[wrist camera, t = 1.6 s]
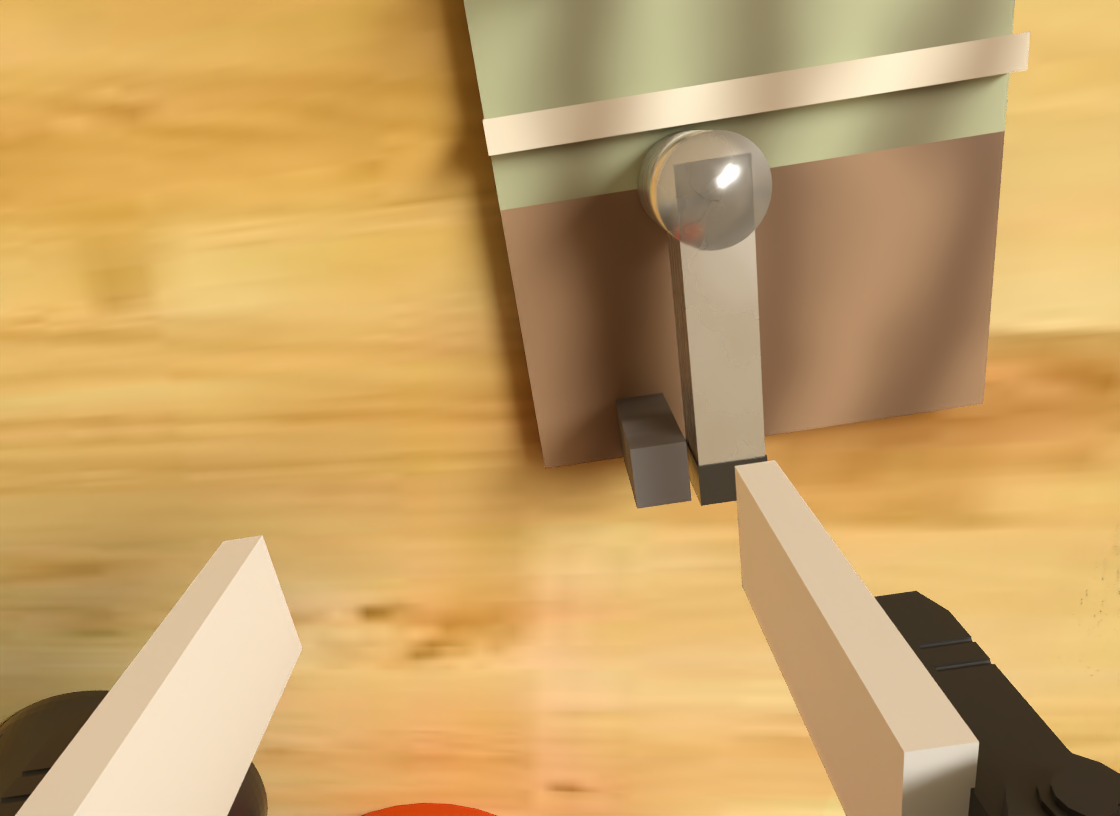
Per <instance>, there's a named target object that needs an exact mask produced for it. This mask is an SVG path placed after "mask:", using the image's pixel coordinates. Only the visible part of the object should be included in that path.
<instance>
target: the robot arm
mask: <svg viewBox="0 0 1120 816" xmlns="http://www.w3.org/2000/svg"><path fill="white" fill-rule="evenodd" d="M735 479H736V495H737V511H738V527H739V543H740V559H741V575H742V587H743V589H744V591H745V593H746V596H747V598H748V600H749V602H750V604H751V607H752V609H753V611H754V613H755V615H756V618H757V620H758V622H759V624H760V626H761V629H762V631H763V633H764V635H765V637H766V640H767V642H768V644H769V646H770V649H771V651H772V653H773V655H774V657H775V660H776V662H777V664H778V666H779V668H780V671H781V673H782V675H783V677H784V679H785V682H786V684H787V686H788V688H789V690H790V693H791V695H792V697H793V699H794V701H795V704H796V706H797V708H798V710H799V713H800V715H801V717H802V719H803V721H804V724H805V726H806V728H807V730H808V732H809V735H810V737H811V739H812V741H813V743H814V746H815V748H816V750H817V752H818V754H819V757H820V759H821V761H822V763H823V765H824V768H825V770H826V772H827V774H828V777H829V779H830V781H831V783H832V785H833V788H834V790H835V792H836V794H837V796H838V799H839V801H840V803H841V805H842V807H843V810H844V812H845V814H846V816H1120V774H1119V773H1117V772H1116V771H1114V770H1112V769H1110V768H1109V767H1107V766H1105V765H1104V764H1102V763H1100V762H1097V761H1094V760H1091V759H1088V758H1085V757H1082V756H1079V755H1075V754H1072V753H1071V752H1070V751H1069V750H1068V749H1067V748H1066V747H1065V746H1064V744H1063V743H1062V742H1061V741H1060V740H1059V739H1058V737H1057V736H1056V735H1055V734H1054V733H1053V732H1052V730H1051V729H1050V728H1049V727H1048V726H1047V725H1046V723H1045V722H1044V721H1043V720H1042V719H1041V718H1040V716H1039V715H1038V714H1037V713H1036V712H1035V711H1034V709H1033V708H1032V707H1031V706H1030V705H1029V704H1028V702H1027V701H1026V700H1025V699H1024V698H1023V697H1022V695H1021V694H1020V693H1019V692H1018V691H1017V690H1016V688H1015V687H1014V686H1013V685H1012V684H1011V683H1010V682H1009V680H1008V679H1007V678H1006V677H1005V676H1004V675H1003V673H1002V672H1001V671H1000V670H999V669H998V668H997V666H996V665H995V664H991V662H990V658H989V657H988V656H987V655H986V654H985V652H984V651H983V650H982V649H981V648H980V647H979V645H978V644H977V643H976V642H972V639H971V636H970V635H969V634H968V633H967V631H966V630H965V629H964V628H963V627H962V626H961V624H960V623H959V622H958V621H957V620H956V619H955V618H954V616H953V615H952V614H951V613H950V612H949V611H948V610H946V609H945V608H943V607H942V606H940V605H938V604H937V603H935V602H933V601H932V600H930V599H928V598H927V597H925V596H924V595H922V594H920V593H919V592H917V591H913V592H905V593H898V594H891V595H884V596H877V597H874V596H873V595H872V593H871V592H870V591H869V589H868V588H867V587H866V585H865V584H864V582H863V581H862V580H861V578H860V577H859V575H858V574H857V573H856V571H855V570H854V569H853V567H852V566H851V564H850V563H849V562H848V560H847V559H846V558H845V556H844V555H843V553H842V552H841V551H840V549H839V548H838V547H837V545H836V544H835V542H834V541H833V540H832V538H831V537H830V535H829V534H828V533H827V531H826V530H825V529H824V527H823V526H822V524H821V523H820V522H819V520H818V519H817V518H816V516H815V515H814V513H813V512H812V511H811V509H810V508H809V506H808V505H807V504H806V502H805V501H804V500H803V498H802V497H801V495H800V494H799V493H798V491H797V490H796V489H795V487H794V486H793V484H792V483H791V482H790V480H789V479H788V478H787V476H786V475H785V473H784V472H783V471H782V469H781V468H780V466H779V465H778V464H777V462H776V461H775V460H772V461H765V462H758V463H752V464H745V465H738V466H735ZM301 651H302V646H301V643H300V640H299V638H298V635H297V632H296V629H295V626H294V623H293V621H292V618H291V615H290V612H289V609H288V606H287V604H286V601H285V598H284V595H283V592H282V589H281V587H280V584H279V581H278V578H277V575H276V572H275V570H274V567H273V564H272V561H271V558H270V555H269V552H268V550H267V547H266V544H265V541H264V538H263V535H260V536H253V537H247V538H240V539H233V540H226V541H223V542H222V544H221V545H220V546H219V548H218V549H217V550H216V552H215V553H214V554H213V556H212V557H211V558H210V559H209V561H208V562H207V563H206V565H205V566H204V567H203V569H202V570H201V571H200V573H199V574H198V575H197V577H196V578H195V579H194V581H193V582H192V583H191V584H190V586H189V587H188V588H187V590H186V591H185V592H184V594H183V595H182V596H181V598H180V599H179V600H178V602H177V603H176V604H175V606H174V607H173V608H172V609H171V611H170V612H169V613H168V615H167V616H166V617H165V619H164V620H163V621H162V623H161V624H160V625H159V627H158V628H157V629H156V631H155V632H154V633H153V634H152V636H151V637H150V638H149V640H148V641H147V642H146V644H145V645H144V646H143V648H142V649H141V650H140V652H139V653H138V654H137V656H136V657H135V658H134V660H133V661H132V662H131V663H130V665H129V666H128V667H127V669H126V670H125V671H124V673H123V674H122V675H121V677H120V678H119V679H118V681H117V682H116V683H115V685H114V686H113V687H112V688H111V690H110V691H81V692H73V693H67V694H62V695H58V696H54V697H50V698H47V699H44V700H41V701H39V702H36V703H34V704H32V705H30V706H28V707H26V708H24V709H22V710H21V711H19V712H18V713H16V714H15V715H13V716H12V717H11V718H10V719H8V720H7V721H6V722H5V723H4V724H3V725H2V726H1V727H0V816H267V810H268V807H267V797H266V792H265V788H264V785H263V782H262V779H261V777H260V775H259V773H258V771H257V769H256V768H255V766H254V764H253V763H252V760H253V757H254V755H255V753H256V751H257V748H258V746H259V744H260V742H261V740H262V737H263V735H264V733H265V731H266V728H267V726H268V724H269V722H270V720H271V717H272V715H273V713H274V711H275V708H276V706H277V704H278V702H279V700H280V697H281V695H282V693H283V691H284V688H285V686H286V684H287V682H288V679H289V677H290V675H291V673H292V671H293V668H294V666H295V664H296V662H297V659H298V657H299V655H300V653H301Z"/></svg>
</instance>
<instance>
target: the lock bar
mask: <svg viewBox="0 0 1120 816" xmlns="http://www.w3.org/2000/svg"><path fill="white" fill-rule="evenodd" d="M637 189H638V195H639V199H640V202H641V204H642V207H643V209H644V210H645V212H646V213H647V215H648V216H649V217H650V218H651V219H652V220H653V221H654V222H655V223H657V224H658V225H659V226H661V227H662V228H663V229H664V230H666V231H667V237H668V248H669V259H670V270H671V281H672V292H673V303H674V314H675V325H676V336H677V347H678V358H679V369H680V380H681V391H682V402H683V413H684V424H685V435H686V439H685V440H686V447H687V458H688V469H689V479H690V481H691V484H692V486H693V488H694V490H695V493H696V495H697V497H698V499H699V502H700V504H701V506H702V505H709V504H715V503H722V502H729V501H736V500H737V495H736V479H735V466H738V465H745V464H752V463H758V462H765V461H767V456H766V455H765V439H764V418H763V396H762V374H761V352H760V330H759V308H758V286H757V264H756V242H755V229H756V228H757V227H758V225H759V224H760V223H761V221H762V220H763V218H764V216H765V214H766V212H767V209H768V207H769V203H770V200H771V194H772V177H771V172H770V168H769V165H768V162H767V160H766V158H765V156H764V155H763V153H762V152H761V150H760V149H759V148H758V147H757V146H756V145H755V144H754V143H753V142H752V141H750V140H749V139H748V138H746V137H744V136H742V135H740V134H738V133H735V132H731V131H725V130H683V131H678V132H674V133H671V134H669V135H667V136H665V137H663V138H662V139H660V140H659V141H658V142H656V143H655V144H654V145H653V146H652V147H651V149H650V150H649V151H648V152H647V154H646V155H645V157H644V159H643V161H642V163H641V166H640V169H639V173H638V180H637Z"/></svg>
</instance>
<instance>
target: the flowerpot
mask: <svg viewBox="0 0 1120 816" xmlns="http://www.w3.org/2000/svg"><path fill="white" fill-rule="evenodd" d="M363 816H496V815H493V814H490V813H488V812H485V811H482V810H479V809H474V808H469V807H463V806H458V805H452V804H433V803H419V804H409V805H400V806H393V807H389V808H385V809H381V810H378V811H374V812H370V813H367V814H365V815H363Z"/></svg>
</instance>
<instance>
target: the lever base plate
mask: <svg viewBox="0 0 1120 816" xmlns="http://www.w3.org/2000/svg"><path fill="white" fill-rule="evenodd" d="M1014 5H1015V0H464V6H465V12H466V18H467V23H468V29H469V35H470V40H471V46H472V52H473V58H474V63H475V69H476V75H477V81H478V86H479V92H480V98H481V103H482V109H483V115H484V120H483V126H484V131H485V137H486V143H487V148H488V154H489V156H491V161H492V166H493V172H494V178H495V184H496V189H497V195H498V201H499V207H500V212H501V218H502V224H503V229H504V235H505V241H506V247H507V252H508V258H509V264H510V270H511V275H512V281H513V287H514V292H515V298H516V304H517V310H518V315H519V321H520V327H521V333H522V338H523V344H524V350H525V356H526V361H527V367H528V373H529V378H530V384H531V390H532V396H533V401H534V407H535V413H536V419H537V424H538V430H539V436H540V441H541V447H542V453H543V459H544V464H545V468H552V467H559V466H566V465H572V464H579V463H586V462H593V461H599V460H606V459H613V458H620V457H624V461H625V465H626V468H627V472H628V476H629V480H630V483H631V487H632V491H633V495H634V498H635V502H636V506H637V508H644V507H651V506H657V505H664V504H671V503H678V502H685V501H691V491H690V480H689V469H688V458H687V447H686V440H685V439H686V435H685V424H684V413H683V402H682V391H681V380H680V369H679V358H678V347H677V336H676V325H675V314H674V303H673V292H672V281H671V270H670V259H669V248H668V237H667V231H666V230H664V229H663V228H662V227H661V226H659V225H658V224H657V223H655V222H654V221H653V220H652V219H651V218H650V217H649V216H648V215H647V213H646V212H645V210H644V209H643V207H642V204H641V202H640V199H639V195H638V189H637V180H638V173H639V169H640V166H641V163H642V161H643V159H644V157H645V155H646V154H647V152H648V151H649V150H650V149H651V147H652V146H653V145H654V144H655V143H656V142H658V141H659V140H660V139H662V138H663V137H665V136H667V135H669V134H671V133H674V132H678V131H683V130H725V131H731V132H735V133H738V134H740V135H742V136H744V137H746V138H748V139H749V140H750V141H752V142H753V143H754V144H755V145H756V146H757V147H758V148H759V149H760V150H761V152H762V153H763V155H764V156H765V158H766V160H767V162H768V165H769V168H770V172H771V177H772V194H771V200H770V203H769V207H768V209H767V212H766V214H765V216H764V218H763V220H762V221H761V223H760V224H759V225H758V227H757V228H756V229H755V242H756V264H757V286H758V308H759V330H760V352H761V374H762V396H763V418H764V436H768V435H775V434H782V433H788V432H795V431H802V430H809V429H815V428H822V427H829V426H836V425H842V424H849V423H856V422H863V421H869V420H876V419H883V418H890V417H896V416H903V415H910V414H917V413H923V412H930V411H937V410H944V409H950V408H957V407H964V406H971V405H977V404H983V400H984V387H985V374H986V362H987V349H988V336H989V323H990V311H991V298H992V285H993V272H994V260H995V247H996V234H997V221H998V209H999V196H1000V183H1001V170H1002V158H1003V145H1004V132H1005V119H1006V107H1007V94H1008V81H1009V73H1012V72H1018V71H1024V70H1027V65H1028V54H1029V42H1030V32H1025V33H1019V34H1012V30H1013V17H1014Z"/></svg>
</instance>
